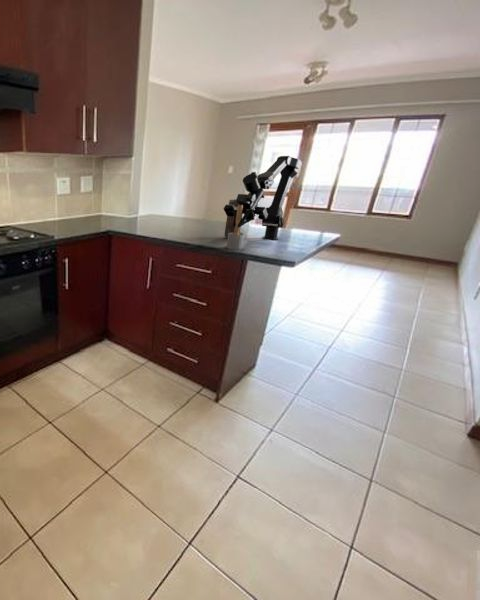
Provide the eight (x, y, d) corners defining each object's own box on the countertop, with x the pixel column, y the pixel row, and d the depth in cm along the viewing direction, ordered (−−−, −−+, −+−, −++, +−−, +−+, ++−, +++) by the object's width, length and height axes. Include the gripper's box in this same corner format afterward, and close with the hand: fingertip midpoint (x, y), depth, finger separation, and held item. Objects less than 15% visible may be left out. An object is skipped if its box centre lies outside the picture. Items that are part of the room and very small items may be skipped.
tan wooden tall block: (239, 240, 172) (245, 199, 164) (224, 239, 174) (229, 199, 166) (238, 237, 179) (243, 198, 171) (223, 236, 181) (228, 198, 173)
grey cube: (227, 246, 159) (229, 232, 157) (243, 247, 156) (245, 232, 154) (225, 249, 154) (227, 234, 151) (241, 251, 151) (243, 235, 148)
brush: (231, 243, 157) (236, 204, 150) (239, 244, 155) (245, 204, 148) (230, 245, 154) (235, 205, 147) (238, 246, 152) (244, 205, 146)
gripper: (228, 186, 154) (211, 213, 152) (269, 187, 140) (251, 217, 138) (235, 202, 161) (219, 228, 160) (275, 205, 147) (257, 233, 145)
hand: (235, 226), depth 150 cm, fingers closed on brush, 2 cm apart
